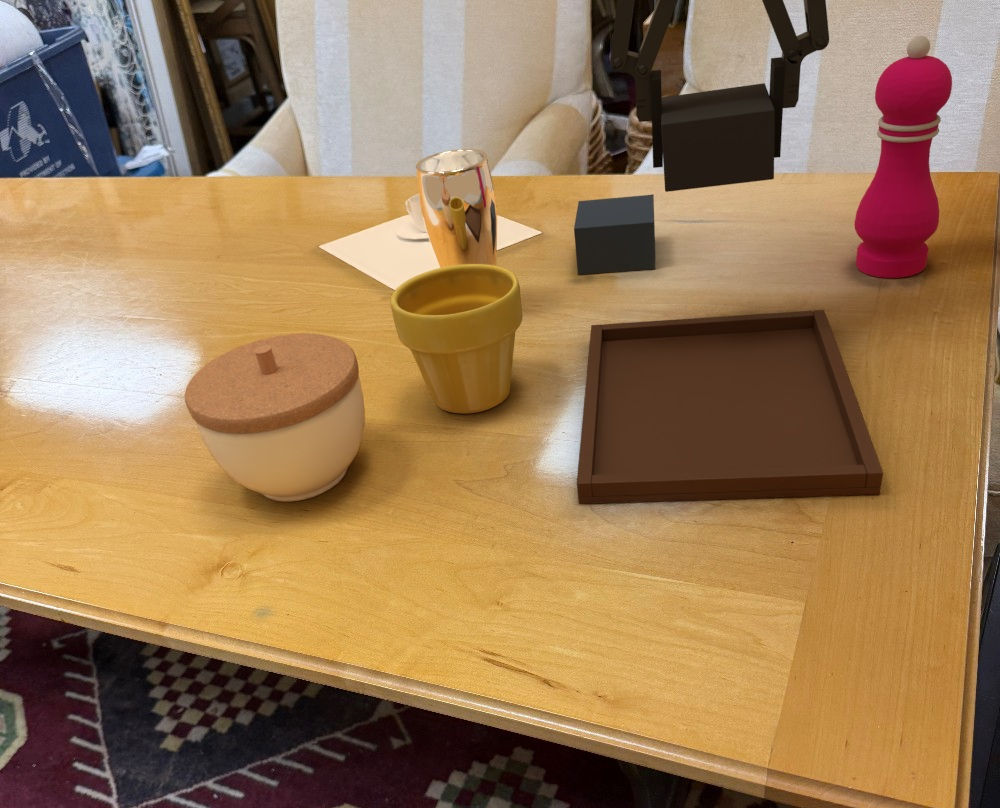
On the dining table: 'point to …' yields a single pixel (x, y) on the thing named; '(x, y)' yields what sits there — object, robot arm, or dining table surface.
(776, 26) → the robot arm
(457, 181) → the shiny metal vase
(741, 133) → the pad
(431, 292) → the flower pot
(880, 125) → the pepper mill
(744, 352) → the brown square tray
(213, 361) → the lidded bowl
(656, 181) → the dining table surface
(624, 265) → the pad
